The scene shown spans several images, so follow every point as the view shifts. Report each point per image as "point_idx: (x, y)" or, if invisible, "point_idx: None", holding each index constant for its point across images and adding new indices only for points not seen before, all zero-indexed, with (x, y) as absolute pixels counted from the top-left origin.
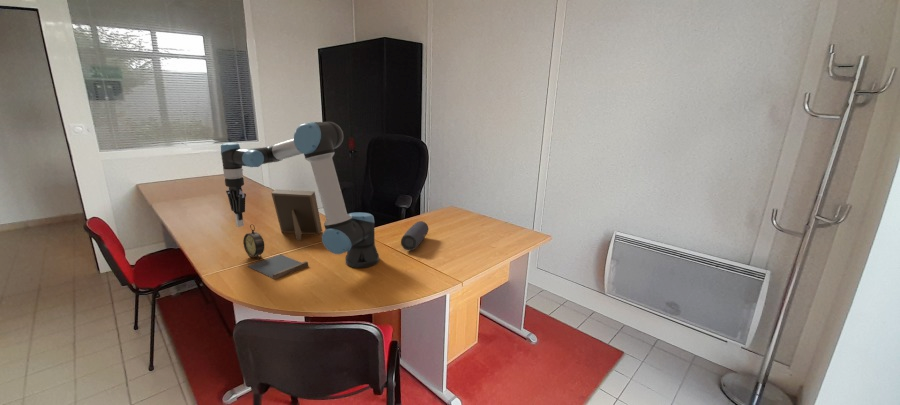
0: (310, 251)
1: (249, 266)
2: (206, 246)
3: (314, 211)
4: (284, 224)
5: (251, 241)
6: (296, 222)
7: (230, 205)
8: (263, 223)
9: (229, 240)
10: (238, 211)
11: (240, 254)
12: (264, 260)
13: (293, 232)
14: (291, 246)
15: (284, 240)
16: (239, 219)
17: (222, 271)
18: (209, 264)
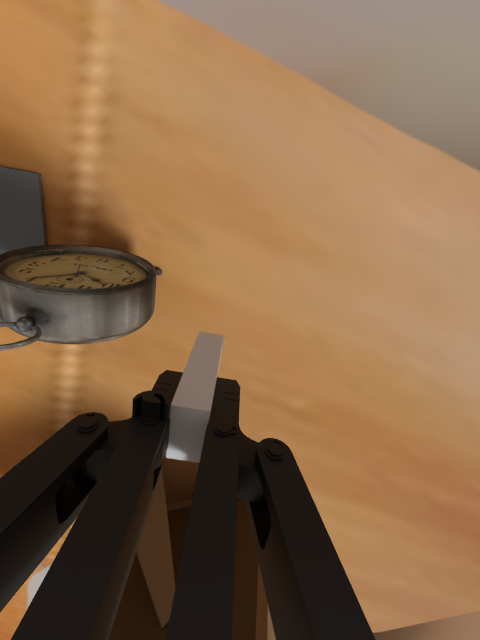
0: (4, 402)
1: (22, 173)
2: (443, 256)
3: None
4: (246, 520)
5: (61, 277)
6: (141, 537)
7: (312, 514)
8: (408, 516)
9: (395, 352)
10: (102, 431)
11: (204, 262)
12: None
13: None
14: (106, 407)
15: None
16: (167, 375)
17: (78, 60)
18: (222, 92)
